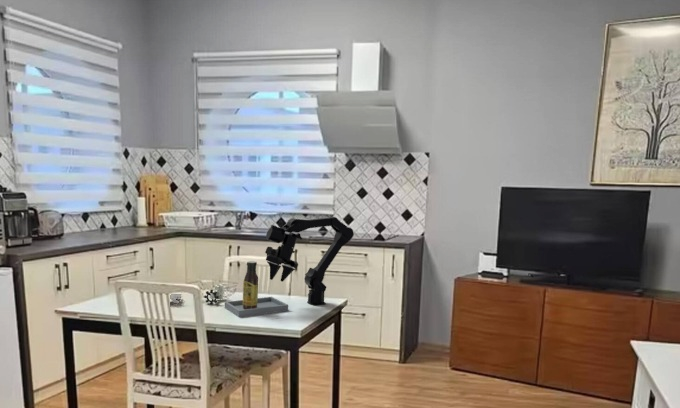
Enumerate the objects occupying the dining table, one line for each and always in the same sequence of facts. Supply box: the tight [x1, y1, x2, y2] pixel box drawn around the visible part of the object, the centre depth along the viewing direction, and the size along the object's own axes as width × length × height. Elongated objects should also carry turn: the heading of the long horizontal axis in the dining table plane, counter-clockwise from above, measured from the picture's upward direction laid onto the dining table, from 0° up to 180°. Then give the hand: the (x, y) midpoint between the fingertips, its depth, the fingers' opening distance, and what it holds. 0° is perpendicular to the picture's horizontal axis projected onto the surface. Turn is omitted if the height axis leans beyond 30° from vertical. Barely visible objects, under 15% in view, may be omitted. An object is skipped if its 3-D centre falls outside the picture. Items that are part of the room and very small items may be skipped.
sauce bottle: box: [242, 260, 259, 309], centre depth 213 cm, size 6×6×20 cm
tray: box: [224, 296, 289, 318], centre depth 215 cm, size 22×17×2 cm
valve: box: [203, 284, 225, 305], centre depth 227 cm, size 7×7×12 cm
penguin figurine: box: [170, 294, 183, 305], centre depth 225 cm, size 6×8×12 cm
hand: (276, 280), depth 219 cm, fingers open, 9 cm apart
